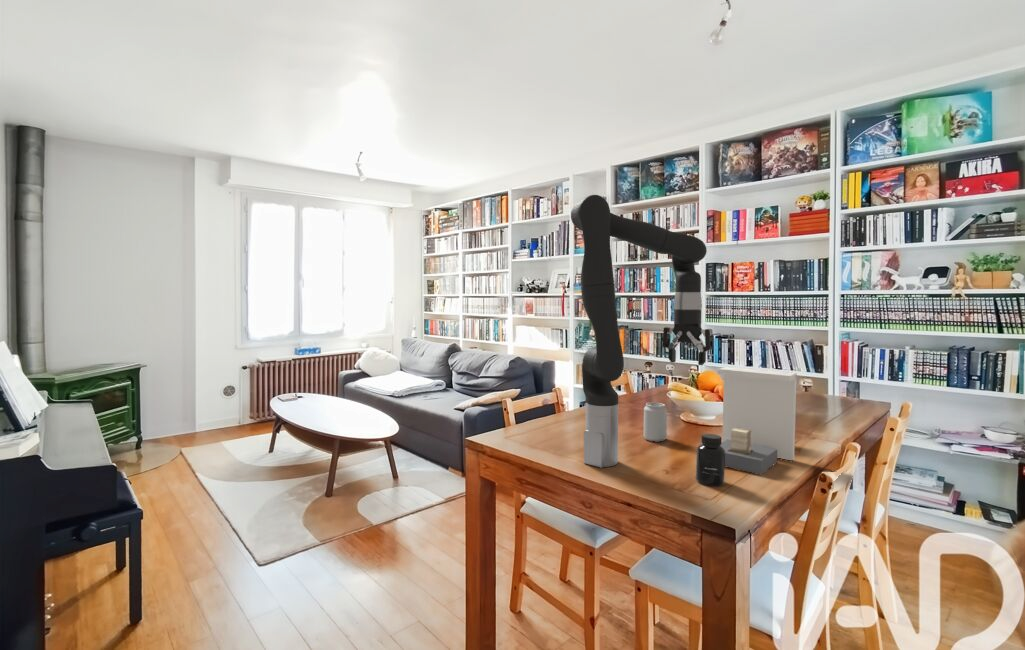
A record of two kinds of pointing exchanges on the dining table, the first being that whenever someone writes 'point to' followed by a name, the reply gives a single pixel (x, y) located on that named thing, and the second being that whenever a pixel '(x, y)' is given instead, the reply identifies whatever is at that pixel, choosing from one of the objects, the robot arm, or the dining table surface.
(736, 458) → the socket
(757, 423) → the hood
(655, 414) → the can
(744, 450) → the peg
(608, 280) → the robot arm
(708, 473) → the supplement bottle
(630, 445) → the dining table surface
